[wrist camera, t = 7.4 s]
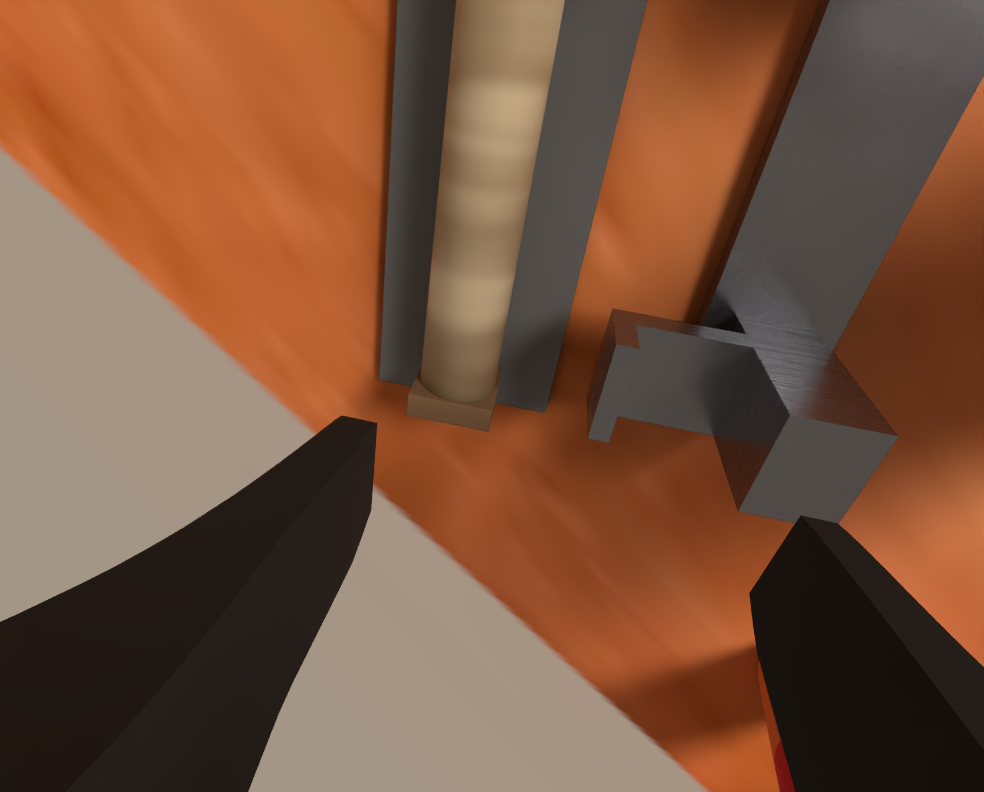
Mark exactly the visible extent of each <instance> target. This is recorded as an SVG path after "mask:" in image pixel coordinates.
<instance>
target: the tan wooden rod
mask: <svg viewBox="0 0 984 792" xmlns="http://www.w3.org/2000/svg"><path fill="white" fill-rule="evenodd" d="M564 2H565V0H456V9H455V20H454V30H453V41H452V51H451V62H450V72H449V83H448V93H447V104H446V114H445V125H444V135H443V146H442V157H441V167H440V178H439V188H438V199H437V209H436V220H435V230H434V241H433V251H432V262H431V272H430V283H429V293H428V304H427V314H426V325H425V335H424V346H423V357H422V366H421V368H420V370H419V373H418V375H417V377H416V379H415V381H414V383H413V385H412V387H411V389H410V392H409V394H408V404H407V415H408V416H413V417H418V418H423V419H428V420H432V421H437V422H442V423H447V424H452V425H457V426H462V427H467V428H472V429H477V430H482V431H487V432H489V427H490V423H491V419H492V414H493V410H494V406H495V401H496V397H497V393H498V388H499V383H500V378H501V372H502V368H498V366H499V360H500V355H501V349H502V344H503V338H504V333H505V327H506V322H507V316H508V311H509V305H510V300H511V294H512V289H513V283H514V278H515V272H516V267H517V261H518V256H519V250H520V245H521V239H522V234H523V228H524V223H525V217H526V212H527V206H528V201H529V195H530V190H531V184H532V179H533V173H534V168H535V162H536V157H537V151H538V146H539V140H540V135H541V129H542V124H543V118H544V113H545V107H546V102H547V96H548V91H549V85H550V80H551V74H552V69H553V63H554V57H555V52H556V46H557V41H558V35H559V30H560V24H561V19H562V13H563V8H564Z"/></svg>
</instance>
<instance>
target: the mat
mask: <svg viewBox="0 0 984 792" xmlns="http://www.w3.org/2000/svg"><path fill="white" fill-rule="evenodd" d="M646 3H647V0H565V2H564V8H563V13H562V19H561V24H560V30H559V35H558V41H557V46H556V52H555V57H554V63H553V69H552V74H551V80H550V85H549V91H548V96H547V102H546V107H545V113H544V118H543V124H542V129H541V135H540V140H539V146H538V151H537V157H536V162H535V168H534V173H533V179H532V184H531V190H530V195H529V201H528V206H527V212H526V217H525V223H524V228H523V234H522V239H521V245H520V250H519V256H518V261H517V267H516V272H515V278H514V283H513V289H512V294H511V300H510V305H509V311H508V316H507V322H506V327H505V333H504V338H503V344H502V349H501V355H500V360H499V366H498V368H502V372H501V378H500V383H499V388H498V393H497V397H496V401H495V403H498V404H503V405H508V406H513V407H518V408H523V409H528V410H533V411H538V412H543V413H545V412H546V408H547V404H548V400H549V396H550V392H551V387H552V383H553V379H554V375H555V371H556V367H557V363H558V359H559V355H560V351H561V347H562V343H563V339H564V335H565V331H566V327H567V323H568V319H569V315H570V310H571V306H572V302H573V298H574V294H575V290H576V286H577V282H578V278H579V274H580V270H581V266H582V262H583V258H584V254H585V250H586V246H587V242H588V238H589V234H590V229H591V225H592V221H593V217H594V213H595V209H596V205H597V201H598V197H599V193H600V189H601V185H602V181H603V177H604V173H605V169H606V165H607V161H608V157H609V153H610V148H611V144H612V140H613V136H614V132H615V128H616V124H617V120H618V116H619V112H620V108H621V104H622V100H623V96H624V92H625V88H626V84H627V80H628V76H629V72H630V67H631V63H632V59H633V55H634V51H635V47H636V43H637V39H638V35H639V31H640V27H641V23H642V19H643V15H644V11H645V7H646ZM455 9H456V0H398V4H397V25H396V46H395V67H394V87H393V108H392V129H391V150H390V171H389V192H388V213H387V234H386V255H385V276H384V296H383V317H382V338H381V359H380V380H383V381H388V382H393V383H398V384H403V385H408V386H412V385H413V383H414V381H415V379H416V377H417V375H418V373H419V370H420V368H421V366H422V357H423V346H424V335H425V325H426V314H427V304H428V293H429V283H430V272H431V262H432V251H433V241H434V230H435V220H436V209H437V199H438V188H439V178H440V167H441V157H442V146H443V135H444V125H445V114H446V104H447V93H448V83H449V72H450V62H451V51H452V41H453V30H454V20H455Z"/></svg>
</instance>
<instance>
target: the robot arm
mask: <svg viewBox="0 0 984 792" xmlns="http://www.w3.org/2000/svg"><path fill="white" fill-rule="evenodd" d="M376 434H377V423H374V422H369V421H365V420H360V419H356V418H351V417H346V416H341V417H339V418H337V419H336V420H334V421H333V422H332V423H330V424H329V425H328V426H327V427H325V428H324V429H323V430H321V431H320V432H319V433H318V434H316V435H315V436H314V437H312V438H311V439H310V440H309V441H308V442H306V443H305V444H303V445H302V446H301V447H300V448H298V449H297V450H296V451H294V452H293V453H292V454H291V455H289V456H288V457H286V458H285V459H284V460H282V461H281V462H280V463H279V464H277V465H275V466H274V467H273V468H271V469H270V470H269V471H267V472H266V473H264V474H263V475H262V476H260V477H259V478H258V479H256V480H255V481H253V482H252V483H251V484H249V485H248V486H246V487H245V488H243V489H242V490H240V491H239V492H238V493H236V494H235V495H234V496H232V497H230V498H229V499H227V500H225V501H224V502H222V503H221V504H219V505H218V506H216V507H215V508H213V509H212V510H210V511H208V512H207V513H206V514H204V515H202V516H201V517H199V518H198V519H196V520H195V521H193V522H192V523H190V524H189V525H187V526H185V527H184V528H182V529H180V530H179V531H177V532H175V533H174V534H172V535H170V536H169V537H167V538H165V539H163V540H162V541H160V542H158V543H156V544H155V545H153V546H151V547H150V548H148V549H146V550H144V551H142V552H141V553H139V554H137V555H135V556H133V557H131V558H130V559H128V560H126V561H124V562H122V563H121V564H119V565H117V566H115V567H113V568H111V569H109V570H107V571H105V572H103V573H101V574H99V575H98V576H95V577H94V578H91V579H90V580H87V581H86V582H84V583H82V584H80V585H77V586H75V587H73V588H71V589H69V590H67V591H65V592H63V593H61V594H59V595H57V596H55V597H52V598H51V599H48V600H46V601H44V602H42V603H40V604H38V605H36V606H34V607H32V608H30V609H27V610H25V611H23V612H21V613H19V614H17V615H15V616H12V617H10V618H8V619H6V620H3V621H1V622H0V792H248V790H249V788H250V786H251V783H252V780H253V778H254V775H255V772H256V770H257V767H258V765H259V762H260V760H261V757H262V755H263V752H264V750H265V747H266V745H267V742H268V739H269V737H270V734H271V732H272V729H273V727H274V724H275V722H276V719H277V716H278V714H279V712H280V709H281V707H282V705H283V703H284V701H285V698H286V696H287V694H288V692H289V690H290V687H291V685H292V683H293V681H294V679H295V677H296V675H297V673H298V671H299V669H300V667H301V665H302V663H303V661H304V659H305V657H306V655H307V653H308V651H309V649H310V647H311V645H312V643H313V641H314V639H315V637H316V635H317V633H318V631H319V629H320V627H321V625H322V623H323V620H324V619H325V617H326V615H327V613H328V611H329V609H330V607H331V605H332V603H333V601H334V599H335V597H336V595H337V593H338V591H339V589H340V587H341V585H342V583H343V580H344V579H345V576H346V574H347V572H348V570H349V568H350V566H351V564H352V562H353V559H354V557H355V554H356V551H357V548H358V546H359V543H360V540H361V537H362V535H363V532H364V529H365V526H366V523H367V520H368V517H369V515H370V512H371V504H372V491H373V477H374V462H375V448H376ZM749 594H750V603H751V611H752V620H753V628H754V635H755V641H756V648H757V654H758V658H759V661H760V665H761V669H762V673H763V677H764V681H765V684H766V688H767V692H768V695H769V699H770V703H771V706H772V710H773V714H774V717H775V721H776V724H777V728H778V732H779V735H780V739H781V742H782V746H783V750H784V753H785V757H786V760H787V764H788V768H789V771H790V775H791V778H792V782H793V786H794V789H795V792H984V667H983V666H982V665H981V664H980V663H979V662H978V661H977V660H976V659H975V658H974V657H973V656H972V655H971V654H969V653H968V652H967V651H966V650H965V649H964V648H963V647H962V646H961V645H960V644H959V643H958V642H957V641H956V640H955V639H954V638H953V637H952V636H951V635H950V634H949V633H948V632H947V631H946V630H945V629H944V628H943V627H942V626H941V625H940V624H939V623H938V622H937V621H936V620H935V619H934V618H933V617H932V616H931V615H930V614H929V613H928V612H927V611H926V610H925V609H924V608H923V607H922V606H921V605H920V604H919V603H918V602H917V601H916V600H915V599H914V598H913V597H912V596H911V595H910V594H909V593H908V592H907V591H906V590H905V589H904V587H903V586H902V585H901V584H900V583H899V582H898V581H897V580H896V579H895V578H894V577H893V576H892V575H891V574H890V573H889V572H888V571H887V570H886V569H885V568H884V567H883V566H882V565H881V564H880V563H879V562H878V561H877V560H876V559H875V558H874V557H873V556H872V555H871V554H870V553H869V552H868V551H867V550H866V549H865V548H864V547H863V546H862V545H861V544H860V543H859V542H857V541H856V540H855V539H854V538H853V537H852V536H851V535H850V534H849V533H848V532H847V531H846V530H844V529H843V528H842V527H841V526H840V525H839V524H838V523H834V522H830V521H825V520H820V519H816V518H811V517H807V516H802V515H801V516H800V517H799V519H798V520H797V522H796V523H795V525H794V526H793V528H792V529H791V531H790V532H789V534H788V535H787V537H786V538H785V540H784V541H783V543H782V545H781V546H780V548H779V549H778V551H777V552H776V554H775V555H774V557H773V558H772V560H771V561H770V563H769V564H768V566H767V567H766V569H765V570H764V572H763V573H762V575H761V577H760V578H759V580H758V581H757V583H756V584H755V586H754V587H753V589H752V590H751V592H750V593H749Z"/></svg>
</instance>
